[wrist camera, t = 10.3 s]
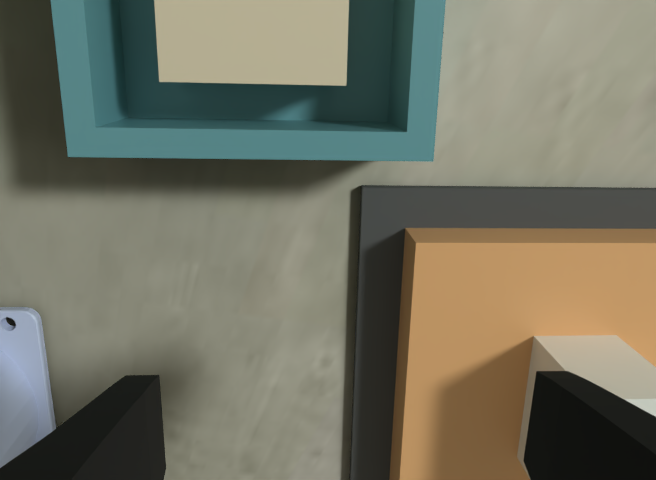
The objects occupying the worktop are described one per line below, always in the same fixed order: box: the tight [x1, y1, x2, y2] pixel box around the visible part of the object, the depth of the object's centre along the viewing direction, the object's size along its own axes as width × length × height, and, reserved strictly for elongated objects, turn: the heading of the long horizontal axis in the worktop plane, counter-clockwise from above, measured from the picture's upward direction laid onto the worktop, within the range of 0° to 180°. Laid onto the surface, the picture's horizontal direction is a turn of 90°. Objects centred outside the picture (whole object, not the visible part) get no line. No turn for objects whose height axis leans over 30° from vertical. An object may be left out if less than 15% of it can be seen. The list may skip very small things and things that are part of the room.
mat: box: [350, 185, 656, 480], centre depth 23 cm, size 15×15×1 cm
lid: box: [389, 228, 656, 480], centre depth 20 cm, size 12×12×6 cm
